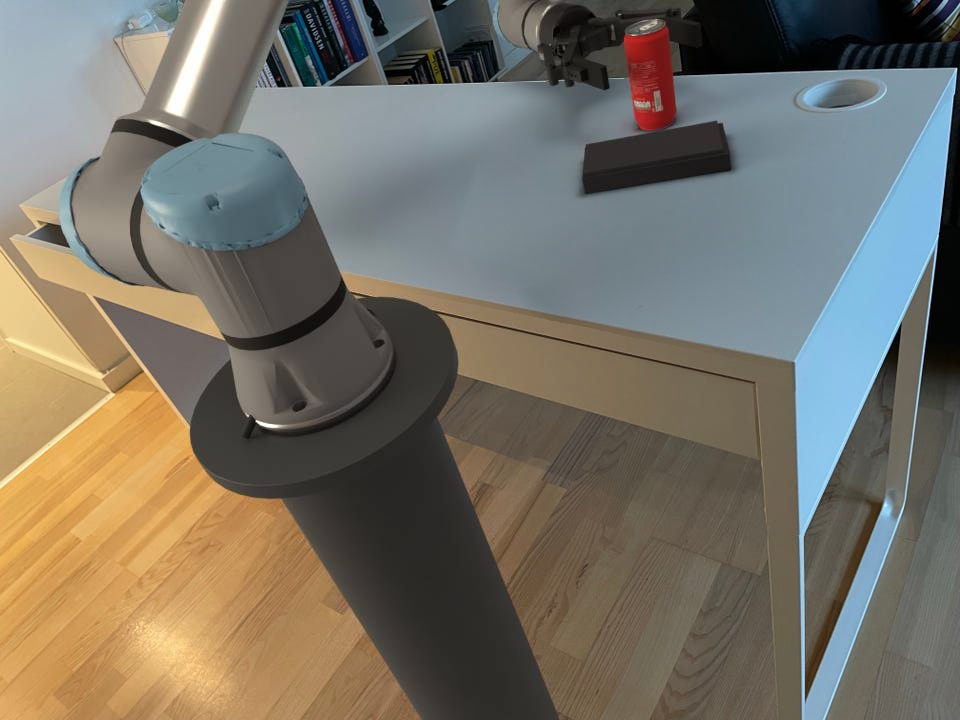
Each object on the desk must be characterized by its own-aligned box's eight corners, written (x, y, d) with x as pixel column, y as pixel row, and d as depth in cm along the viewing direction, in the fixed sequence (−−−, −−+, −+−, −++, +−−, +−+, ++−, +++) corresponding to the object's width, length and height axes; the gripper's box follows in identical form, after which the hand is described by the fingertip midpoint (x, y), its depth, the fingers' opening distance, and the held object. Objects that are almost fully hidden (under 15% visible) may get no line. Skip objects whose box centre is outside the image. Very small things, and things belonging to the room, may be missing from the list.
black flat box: (723, 138, 90) (722, 118, 88) (730, 170, 84) (729, 148, 82) (587, 162, 94) (584, 143, 92) (585, 193, 88) (581, 174, 86)
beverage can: (627, 126, 99) (614, 31, 92) (660, 110, 100) (649, 15, 93) (652, 135, 95) (640, 38, 88) (686, 119, 96) (676, 21, 89)
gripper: (638, 25, 113) (738, 49, 96) (491, 91, 108) (570, 127, 91) (631, -29, 108) (734, -14, 92) (478, 37, 103) (558, 64, 87)
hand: (653, 56), depth 91 cm, fingers open, 13 cm apart
